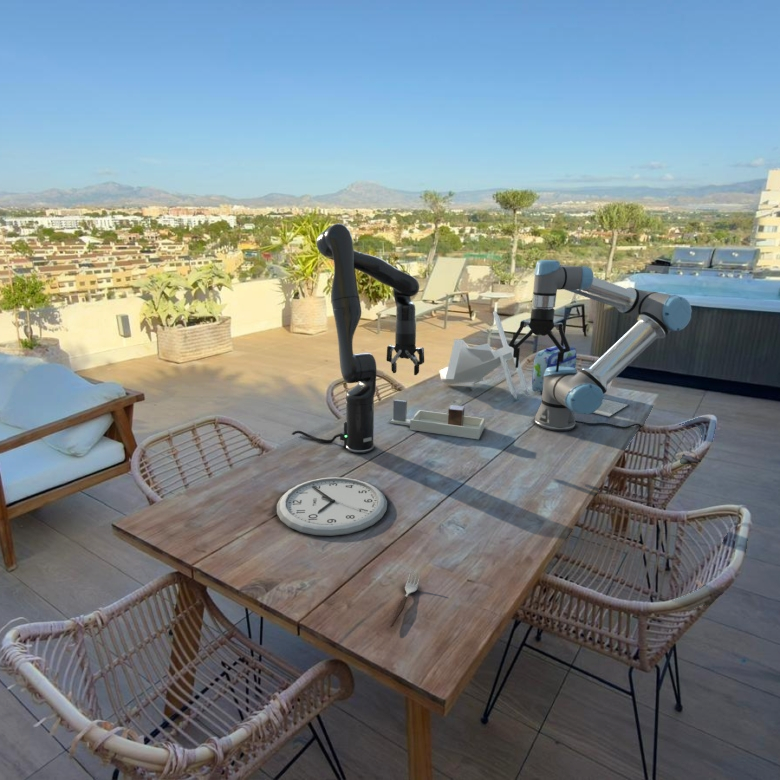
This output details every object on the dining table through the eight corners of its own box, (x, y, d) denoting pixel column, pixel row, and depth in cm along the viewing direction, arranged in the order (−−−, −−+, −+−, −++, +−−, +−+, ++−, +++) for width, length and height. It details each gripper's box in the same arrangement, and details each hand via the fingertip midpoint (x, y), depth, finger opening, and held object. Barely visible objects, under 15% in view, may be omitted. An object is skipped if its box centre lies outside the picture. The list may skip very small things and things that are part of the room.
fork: (384, 627, 99) (384, 618, 99) (410, 577, 114) (410, 569, 113) (397, 631, 99) (397, 622, 98) (421, 580, 113) (421, 572, 112)
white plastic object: (461, 429, 252) (437, 405, 227) (444, 352, 274) (420, 323, 250) (535, 404, 240) (518, 377, 215) (510, 326, 262) (492, 293, 237)
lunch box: (548, 398, 236) (553, 353, 229) (527, 393, 243) (531, 349, 237) (575, 387, 253) (581, 344, 247) (555, 382, 260) (560, 341, 254)
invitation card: (608, 416, 214) (573, 407, 224) (608, 416, 214) (573, 408, 224) (628, 404, 229) (594, 396, 238) (628, 405, 229) (594, 397, 238)
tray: (484, 428, 200) (485, 405, 197) (478, 439, 189) (480, 416, 186) (397, 416, 211) (397, 395, 208) (387, 426, 200) (387, 404, 197)
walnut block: (463, 426, 199) (464, 406, 196) (460, 430, 194) (462, 410, 192) (450, 424, 200) (451, 404, 198) (447, 429, 196) (448, 408, 193)
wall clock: (392, 527, 129) (268, 531, 127) (391, 533, 130) (269, 537, 127) (383, 473, 158) (282, 475, 155) (383, 478, 158) (282, 480, 156)
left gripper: (427, 330, 194) (426, 373, 198) (391, 328, 199) (391, 369, 203) (420, 334, 187) (419, 378, 192) (383, 331, 192) (383, 374, 197)
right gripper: (582, 308, 175) (574, 369, 181) (506, 303, 182) (501, 362, 189) (582, 311, 168) (574, 375, 174) (504, 306, 175) (499, 367, 182)
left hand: (405, 373), depth 198 cm, fingers open, 8 cm apart
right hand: (536, 368), depth 181 cm, fingers open, 13 cm apart
